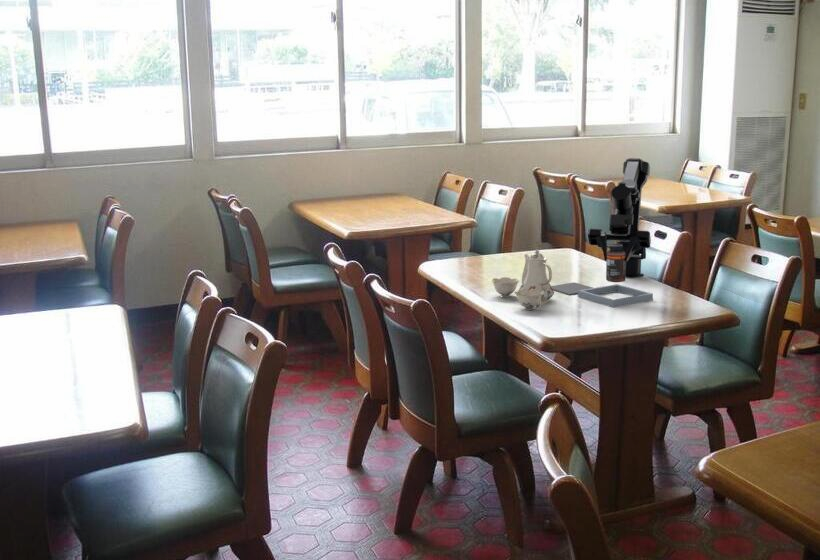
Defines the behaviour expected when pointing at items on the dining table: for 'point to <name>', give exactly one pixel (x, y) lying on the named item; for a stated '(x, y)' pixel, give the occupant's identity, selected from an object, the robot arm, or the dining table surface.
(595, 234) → the robot arm
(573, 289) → the mat
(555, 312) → the dining table surface
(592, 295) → the bin
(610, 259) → the supplement bottle
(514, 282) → the chinaware
